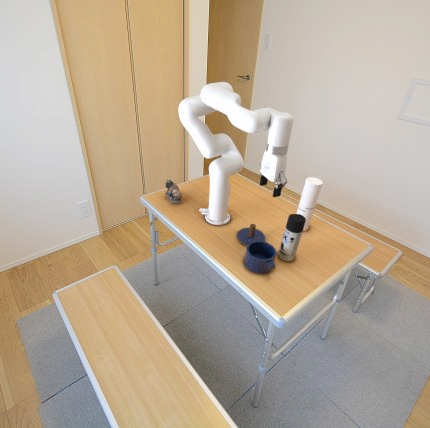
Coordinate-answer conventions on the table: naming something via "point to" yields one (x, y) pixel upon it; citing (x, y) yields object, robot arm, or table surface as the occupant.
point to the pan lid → (250, 234)
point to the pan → (260, 256)
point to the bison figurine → (173, 192)
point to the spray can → (291, 236)
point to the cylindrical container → (309, 199)
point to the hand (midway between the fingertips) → (269, 190)
